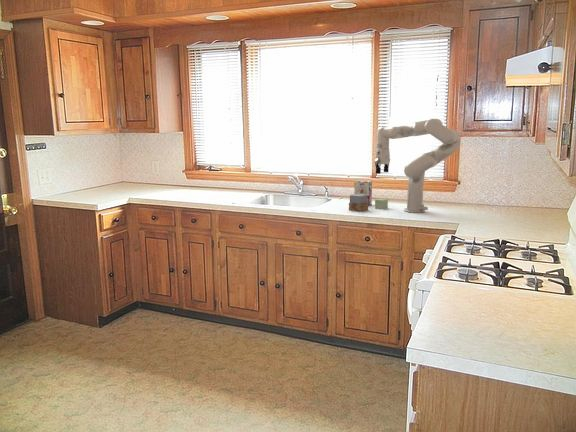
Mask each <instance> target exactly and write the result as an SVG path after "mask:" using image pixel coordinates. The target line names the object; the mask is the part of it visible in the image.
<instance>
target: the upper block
mask: <svg viewBox="0 0 576 432" xmlns="http://www.w3.org/2000/svg"><path fill="white" fill-rule="evenodd" d="M349 203H354V204H363V203H367V195H363V194H355V193H354V194H350V195H349Z"/></svg>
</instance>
